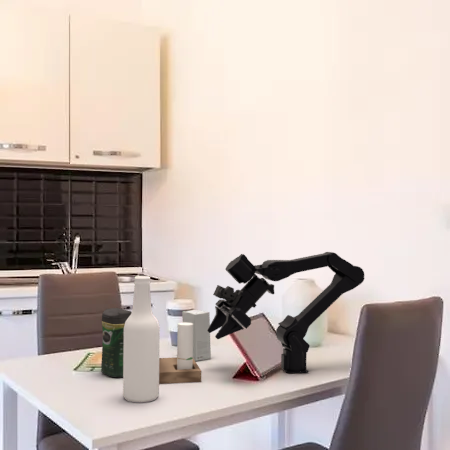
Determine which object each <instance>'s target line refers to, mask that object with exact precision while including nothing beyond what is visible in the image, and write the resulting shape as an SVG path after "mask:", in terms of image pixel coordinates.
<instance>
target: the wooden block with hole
mask: <svg viewBox="0 0 450 450" xmlns="http://www.w3.org/2000/svg"><path fill="white" fill-rule="evenodd" d="M201 382H202V370H201V368H200V366H199V365H198V363H197V362H196V361H195V360H194V359H193V369H183V370H177V356H176V357H159V385H160V384H161V385H163V384H165V385H167V384H180V383H181V384H183V383H184V384H185V383H201Z"/></svg>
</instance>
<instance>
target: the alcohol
mask: <svg viewBox="0 0 450 450" xmlns="http://www.w3.org/2000/svg"><path fill="white" fill-rule="evenodd" d="M133 279H134V282H133V284H134V287H133V288H134V289H133V297H132V298H133V299H132V300H133V301H132V309H131V312H132V313H131V315H130V316H129V317H128V319H127V320H126V322H125V325H124V353H123V377H122V378H123V379H122V381H123V382H122V384H123V385H122V395H123V398H124V399H125V400H126V401H128V402H131V403H136V404H138V403H142V404H143V403H149V402H152V401H155V400H157V399H158V396H159V395H160V384H159V358H160V331H161V330H160V329H161V327H160V324H159V323H160V322H159V320H158V318H157V317H156V316H155V315H154V313H153V311H152V310H153V309H152V297H151V286H150V285H151V277H150V276H148V275H136V276H135V277H133Z"/></svg>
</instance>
